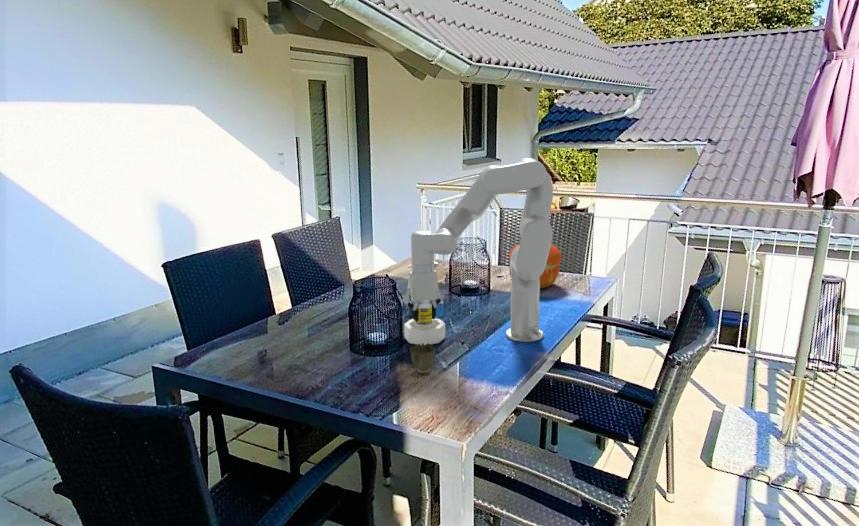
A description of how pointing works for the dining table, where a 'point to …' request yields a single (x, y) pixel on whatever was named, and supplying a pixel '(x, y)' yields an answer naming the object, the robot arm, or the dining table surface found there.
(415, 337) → the white round bowl
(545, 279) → the pumpkin
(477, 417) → the dining table surface
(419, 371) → the cup
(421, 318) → the supplement bottle
